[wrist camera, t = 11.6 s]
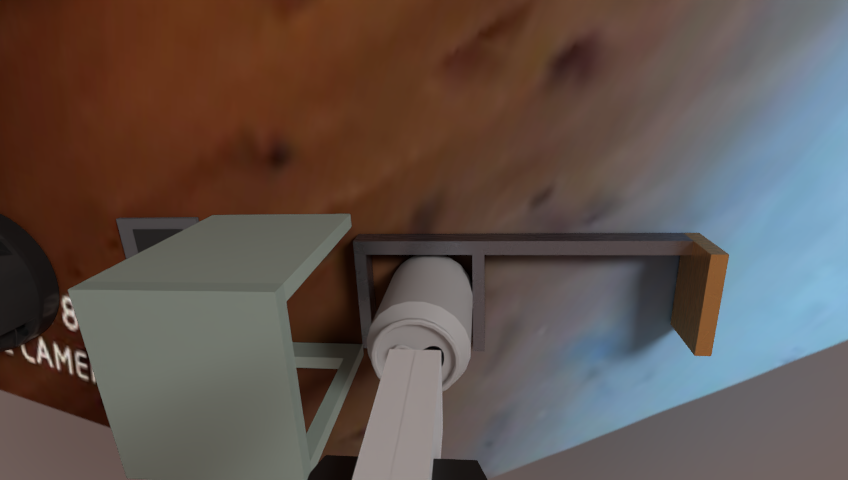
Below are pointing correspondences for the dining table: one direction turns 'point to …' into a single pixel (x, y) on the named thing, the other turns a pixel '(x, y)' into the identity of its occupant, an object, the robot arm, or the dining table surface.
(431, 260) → the can
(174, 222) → the pit board
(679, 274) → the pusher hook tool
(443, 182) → the dining table surface
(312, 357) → the tunnel
